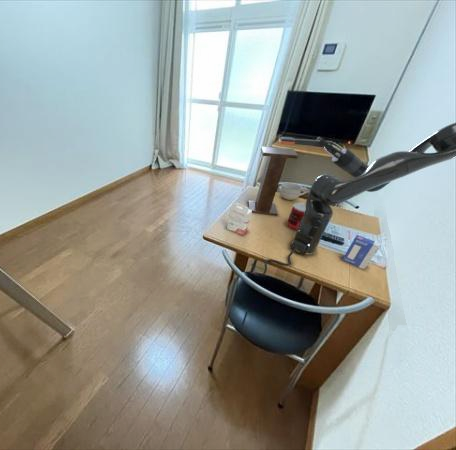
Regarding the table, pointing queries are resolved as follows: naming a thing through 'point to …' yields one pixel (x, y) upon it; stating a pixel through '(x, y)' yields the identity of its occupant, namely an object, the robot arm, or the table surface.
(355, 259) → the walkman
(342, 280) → the table surface
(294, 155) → the walnut stand
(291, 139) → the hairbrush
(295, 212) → the canned food
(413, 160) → the robot arm
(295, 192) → the teacup
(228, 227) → the ink cartridge box
